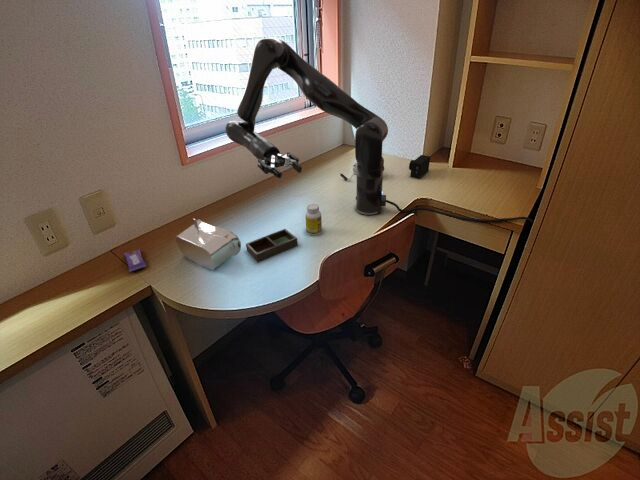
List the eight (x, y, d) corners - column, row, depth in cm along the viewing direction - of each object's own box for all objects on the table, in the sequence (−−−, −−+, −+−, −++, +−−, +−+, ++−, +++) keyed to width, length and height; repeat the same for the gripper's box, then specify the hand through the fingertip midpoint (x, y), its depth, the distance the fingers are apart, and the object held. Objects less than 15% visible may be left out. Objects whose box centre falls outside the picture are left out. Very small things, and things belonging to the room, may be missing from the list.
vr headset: (244, 256, 112) (236, 216, 104) (216, 275, 105) (205, 234, 97) (206, 239, 121) (196, 201, 113) (177, 256, 114) (165, 216, 106)
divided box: (297, 245, 116) (297, 238, 114) (257, 262, 109) (256, 254, 107) (285, 235, 121) (285, 228, 119) (246, 251, 114) (245, 243, 113)
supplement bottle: (320, 236, 120) (319, 210, 114) (304, 235, 121) (302, 209, 115) (323, 228, 124) (322, 203, 119) (308, 227, 125) (306, 202, 120)
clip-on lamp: (352, 191, 154) (386, 173, 158) (350, 179, 149) (385, 161, 154) (338, 179, 162) (370, 163, 166) (335, 167, 158) (369, 151, 162)
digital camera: (417, 168, 164) (418, 154, 160) (428, 171, 161) (430, 156, 158) (407, 176, 157) (409, 161, 153) (419, 179, 154) (421, 163, 151)
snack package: (145, 263, 108) (128, 269, 106) (147, 268, 109) (130, 274, 107) (139, 245, 116) (122, 251, 114) (140, 250, 117) (124, 256, 115)
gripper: (247, 144, 123) (275, 168, 115) (281, 137, 131) (308, 159, 123) (246, 163, 128) (272, 187, 120) (278, 156, 136) (305, 177, 128)
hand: (291, 173), depth 122 cm, fingers open, 8 cm apart
